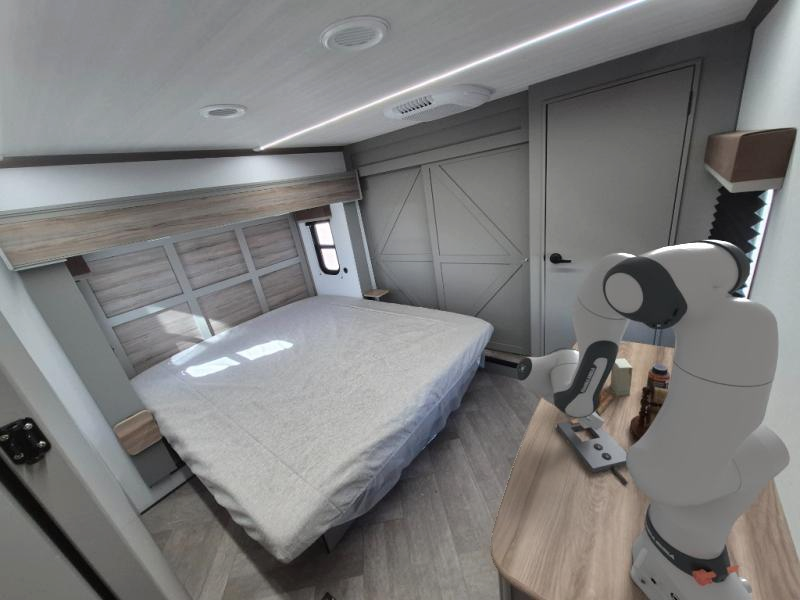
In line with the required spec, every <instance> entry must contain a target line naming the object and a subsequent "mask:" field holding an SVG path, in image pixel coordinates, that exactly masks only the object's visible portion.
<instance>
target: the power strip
mask: <svg viewBox="0 0 800 600" xmlns="http://www.w3.org/2000/svg"><path fill="white" fill-rule="evenodd" d="M556 428H557V429H558V431H559V432H560V434H561V435H562V436H563V438H564V439H565V440H566V441H567V443H568V445H570V446H571V448H572V449H573V450H574V451H575V453H576V454H577V455H578V456H579V459H581V460H582V462H583V463H584V464H585V466H586V467H587V468H588V469H589V471H590V472H591V473H592V474H595V473H599V472H605V471H609V470H612V471H613V472H614V474H615V475H616V476H617V478H619V480H620V481H621V482H622V483H623V484H624V485H627V484H628V483H629V482H628V481H627V480H626V479H625V477H624V476H623V475H622V474H621V472H619V470H617V468H621V467H625V466H626V467H627V464H626V453H627V451H625V450H624V448H623V447H622V446H620V444H619V443H618V442H617V441H616V440H615V439H614V438H613V437H612V436H611V435H610V434H609V433H608V432H607V431H606V430H605V429H604V428H603V426H601V427H600V428H599V429H597V430H594V429H593V428H591V427H589V428H587V430H588V431H589V432H590V433H591V434H592V435H593V436H594V437H595V438H592V439H588V440H583V441H582V439H581V438H580V437H579V436H578V435H577V434H576V432H575V431H580V430H585V429H586V428H583V427H582V426H581V424H580V423H579V422H578V421H577V418H572V419H568V420H564V421H559V422H556Z"/></svg>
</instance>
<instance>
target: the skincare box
mask: <svg viewBox="0 0 800 600" xmlns="http://www.w3.org/2000/svg"><path fill="white" fill-rule="evenodd" d="M633 369H634V367H633V366H632V365H631V363H630V362H629V361H628V360H627V359H626V358H622V357H621V358H616V360H615V363H614V365H613V368H612V370H611V372H610V384H609V385H610V387H611V388H612V390H613V392H614V393H615V395H617V396H630V395H631V387H632V378H633V377H632V376H633Z"/></svg>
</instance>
